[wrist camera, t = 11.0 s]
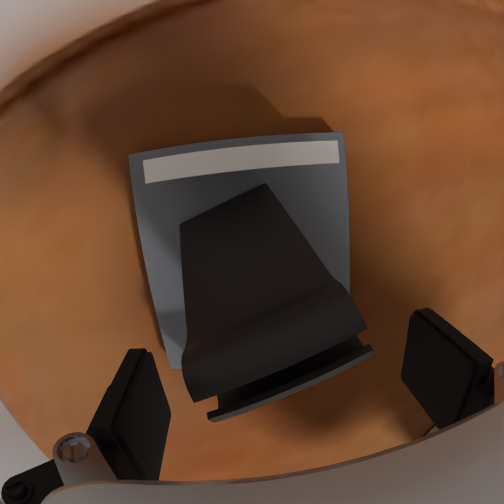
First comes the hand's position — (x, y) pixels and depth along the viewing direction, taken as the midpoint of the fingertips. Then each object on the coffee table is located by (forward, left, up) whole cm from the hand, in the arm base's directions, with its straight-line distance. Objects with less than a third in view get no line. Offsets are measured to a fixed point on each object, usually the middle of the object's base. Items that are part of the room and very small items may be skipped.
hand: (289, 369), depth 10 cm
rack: (0, -1, -13) cm, 13 cm away
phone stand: (0, 0, -11) cm, 11 cm away
